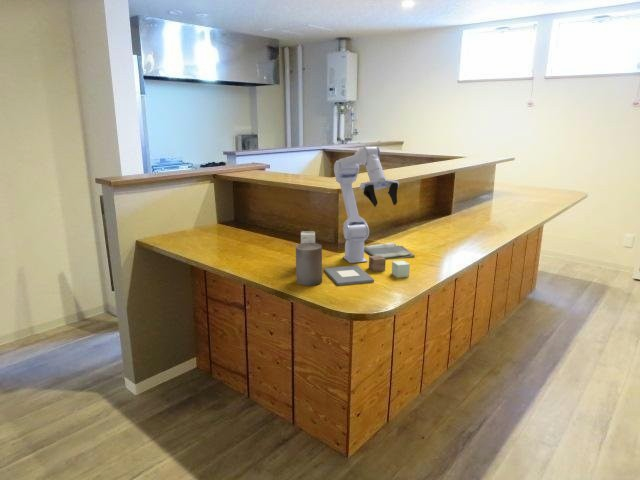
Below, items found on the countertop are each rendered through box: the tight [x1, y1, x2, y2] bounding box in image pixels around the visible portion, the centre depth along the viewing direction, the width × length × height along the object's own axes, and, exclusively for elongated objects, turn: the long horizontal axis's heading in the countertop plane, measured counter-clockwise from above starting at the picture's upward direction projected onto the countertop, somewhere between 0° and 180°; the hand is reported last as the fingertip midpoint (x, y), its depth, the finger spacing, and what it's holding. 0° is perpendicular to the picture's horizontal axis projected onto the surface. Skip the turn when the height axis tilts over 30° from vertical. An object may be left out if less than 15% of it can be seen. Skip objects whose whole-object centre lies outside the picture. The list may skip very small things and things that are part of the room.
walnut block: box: [368, 255, 387, 273], centre depth 181 cm, size 5×5×5 cm
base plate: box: [323, 265, 375, 286], centre depth 173 cm, size 18×14×1 cm
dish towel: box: [364, 241, 416, 260], centre depth 203 cm, size 19×18×3 cm
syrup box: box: [300, 230, 316, 244], centre depth 182 cm, size 6×6×14 cm
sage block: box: [391, 260, 411, 279], centre depth 174 cm, size 5×5×5 cm
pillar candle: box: [295, 242, 323, 287], centre depth 165 cm, size 10×10×15 cm
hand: (385, 204), depth 161 cm, fingers open, 7 cm apart
